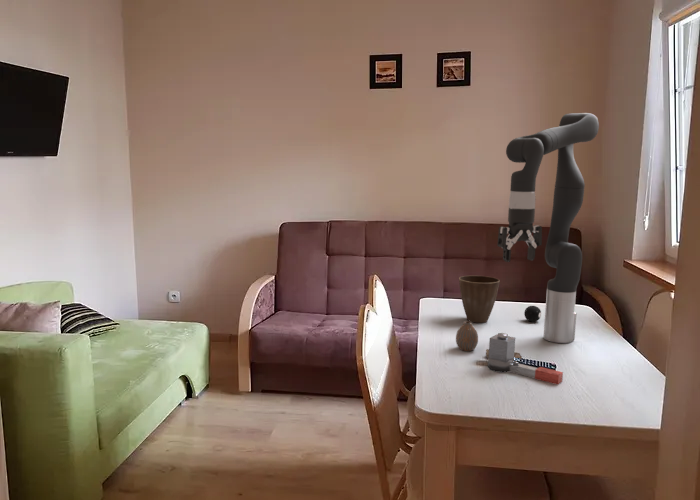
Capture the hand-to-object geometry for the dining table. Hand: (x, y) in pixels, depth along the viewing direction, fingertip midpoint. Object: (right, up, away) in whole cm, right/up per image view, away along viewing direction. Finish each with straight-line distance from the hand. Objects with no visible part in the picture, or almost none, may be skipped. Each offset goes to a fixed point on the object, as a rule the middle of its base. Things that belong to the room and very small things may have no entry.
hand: (518, 260), depth 172 cm
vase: (-14, -29, +10) cm, 33 cm away
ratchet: (-2, -32, -11) cm, 33 cm away
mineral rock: (-4, -30, +2) cm, 31 cm away
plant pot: (-3, -24, +45) cm, 51 cm away
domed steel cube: (-7, -28, -7) cm, 30 cm away
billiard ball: (+19, -24, +46) cm, 55 cm away
